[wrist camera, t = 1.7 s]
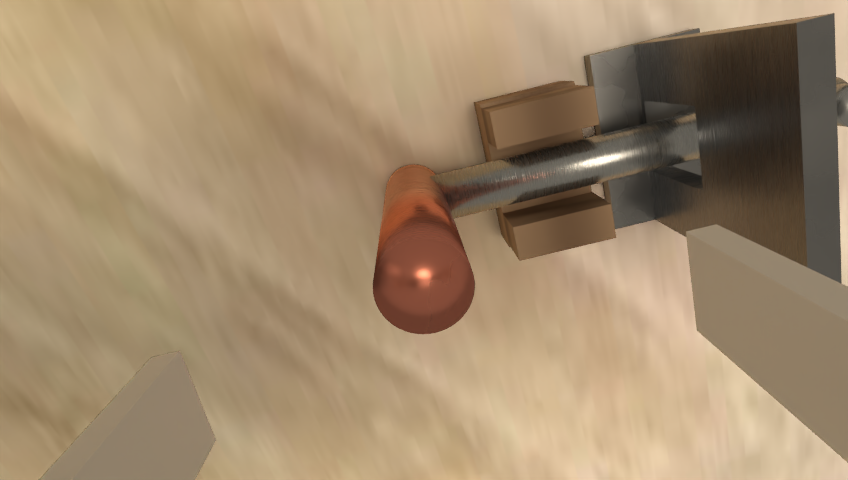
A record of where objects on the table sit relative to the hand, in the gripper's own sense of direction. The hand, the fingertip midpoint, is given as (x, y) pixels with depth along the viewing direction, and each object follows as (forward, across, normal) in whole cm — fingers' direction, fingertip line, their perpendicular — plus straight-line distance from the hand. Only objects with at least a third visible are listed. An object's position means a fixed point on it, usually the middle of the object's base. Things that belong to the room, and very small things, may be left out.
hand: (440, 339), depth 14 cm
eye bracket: (+20, +14, 0) cm, 24 cm away
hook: (+19, +10, 0) cm, 21 cm away
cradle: (+20, +6, 0) cm, 21 cm away
